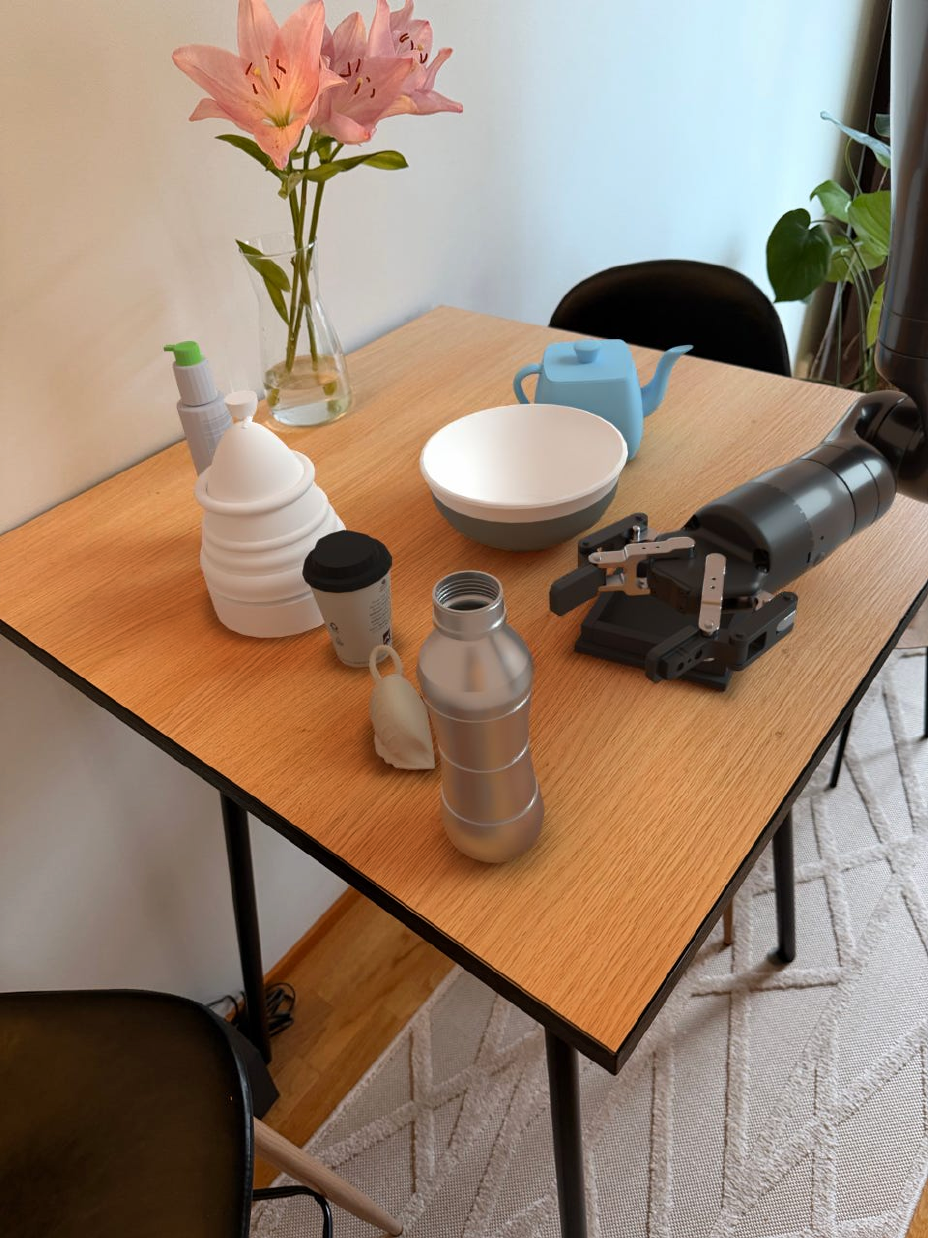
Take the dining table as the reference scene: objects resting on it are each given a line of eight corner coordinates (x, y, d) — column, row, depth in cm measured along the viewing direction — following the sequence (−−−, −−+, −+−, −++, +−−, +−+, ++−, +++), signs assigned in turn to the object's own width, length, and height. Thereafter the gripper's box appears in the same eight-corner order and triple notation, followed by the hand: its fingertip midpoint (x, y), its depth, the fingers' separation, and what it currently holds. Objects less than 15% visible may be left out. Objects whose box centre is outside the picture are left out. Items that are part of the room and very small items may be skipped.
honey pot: (224, 558, 87) (169, 382, 75) (358, 543, 87) (323, 364, 75) (204, 645, 77) (137, 457, 65) (355, 628, 77) (315, 437, 65)
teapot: (693, 470, 92) (702, 363, 84) (515, 478, 94) (509, 373, 86) (679, 414, 101) (686, 313, 94) (517, 422, 103) (512, 323, 96)
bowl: (656, 561, 80) (660, 480, 75) (450, 603, 78) (440, 523, 73) (588, 462, 95) (588, 389, 90) (413, 495, 93) (403, 422, 87)
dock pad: (764, 598, 75) (767, 576, 74) (725, 691, 67) (728, 668, 66) (625, 568, 80) (626, 546, 79) (573, 651, 72) (573, 629, 71)
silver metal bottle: (515, 893, 55) (493, 647, 43) (424, 850, 59) (377, 609, 46) (563, 818, 60) (555, 573, 47) (475, 781, 63) (446, 542, 50)
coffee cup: (421, 655, 73) (405, 554, 67) (343, 689, 71) (319, 588, 65) (384, 611, 78) (366, 513, 72) (310, 642, 76) (284, 543, 70)
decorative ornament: (377, 779, 64) (365, 726, 60) (373, 697, 70) (362, 645, 67) (434, 771, 64) (426, 718, 60) (425, 690, 70) (417, 638, 67)
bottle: (241, 525, 91) (185, 332, 79) (274, 536, 89) (221, 339, 77) (210, 548, 88) (147, 351, 76) (243, 559, 86) (184, 359, 74)
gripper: (694, 447, 65) (521, 537, 58) (872, 526, 56) (691, 645, 49) (687, 534, 70) (526, 627, 63) (850, 620, 60) (682, 741, 54)
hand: (598, 635), depth 56 cm, fingers open, 8 cm apart
